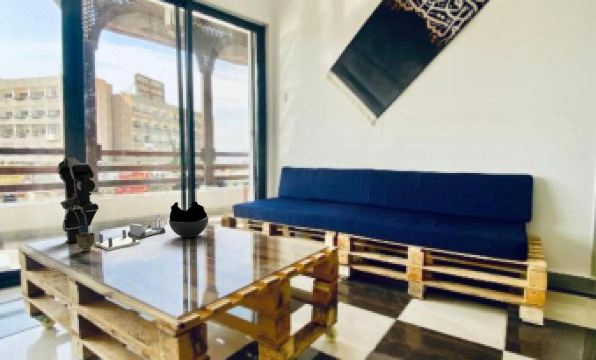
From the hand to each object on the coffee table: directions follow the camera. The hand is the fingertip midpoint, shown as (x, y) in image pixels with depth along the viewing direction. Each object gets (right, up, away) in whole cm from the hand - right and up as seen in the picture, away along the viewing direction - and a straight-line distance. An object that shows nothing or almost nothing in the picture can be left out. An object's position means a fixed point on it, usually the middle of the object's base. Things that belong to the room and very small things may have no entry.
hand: (84, 224), depth 157 cm
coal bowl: (+41, -10, +24) cm, 48 cm away
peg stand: (+9, -11, +12) cm, 19 cm away
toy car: (+15, -10, +33) cm, 37 cm away
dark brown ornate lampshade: (0, -13, +1) cm, 13 cm away
